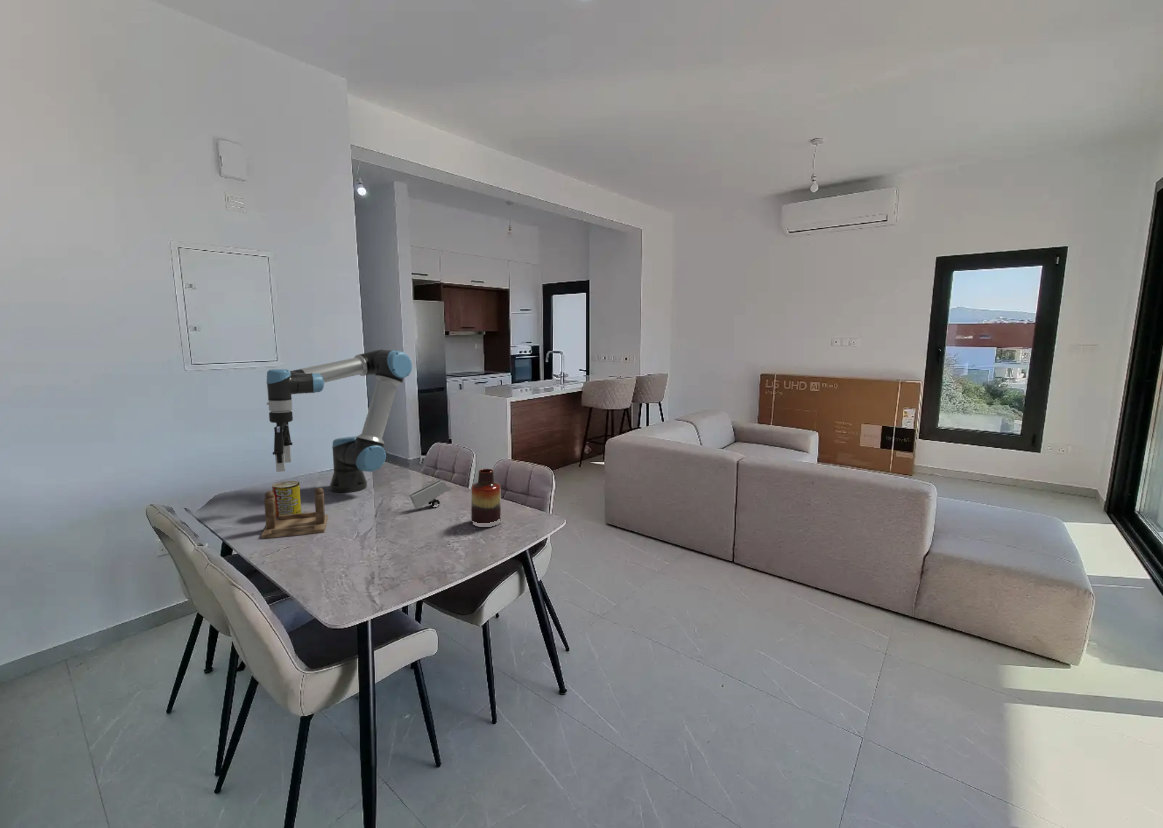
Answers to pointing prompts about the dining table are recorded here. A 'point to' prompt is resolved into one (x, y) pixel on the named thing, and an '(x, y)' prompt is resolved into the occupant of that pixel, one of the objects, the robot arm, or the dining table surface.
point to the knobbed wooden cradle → (294, 519)
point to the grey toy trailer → (428, 494)
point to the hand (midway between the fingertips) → (284, 466)
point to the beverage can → (287, 497)
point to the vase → (485, 498)
